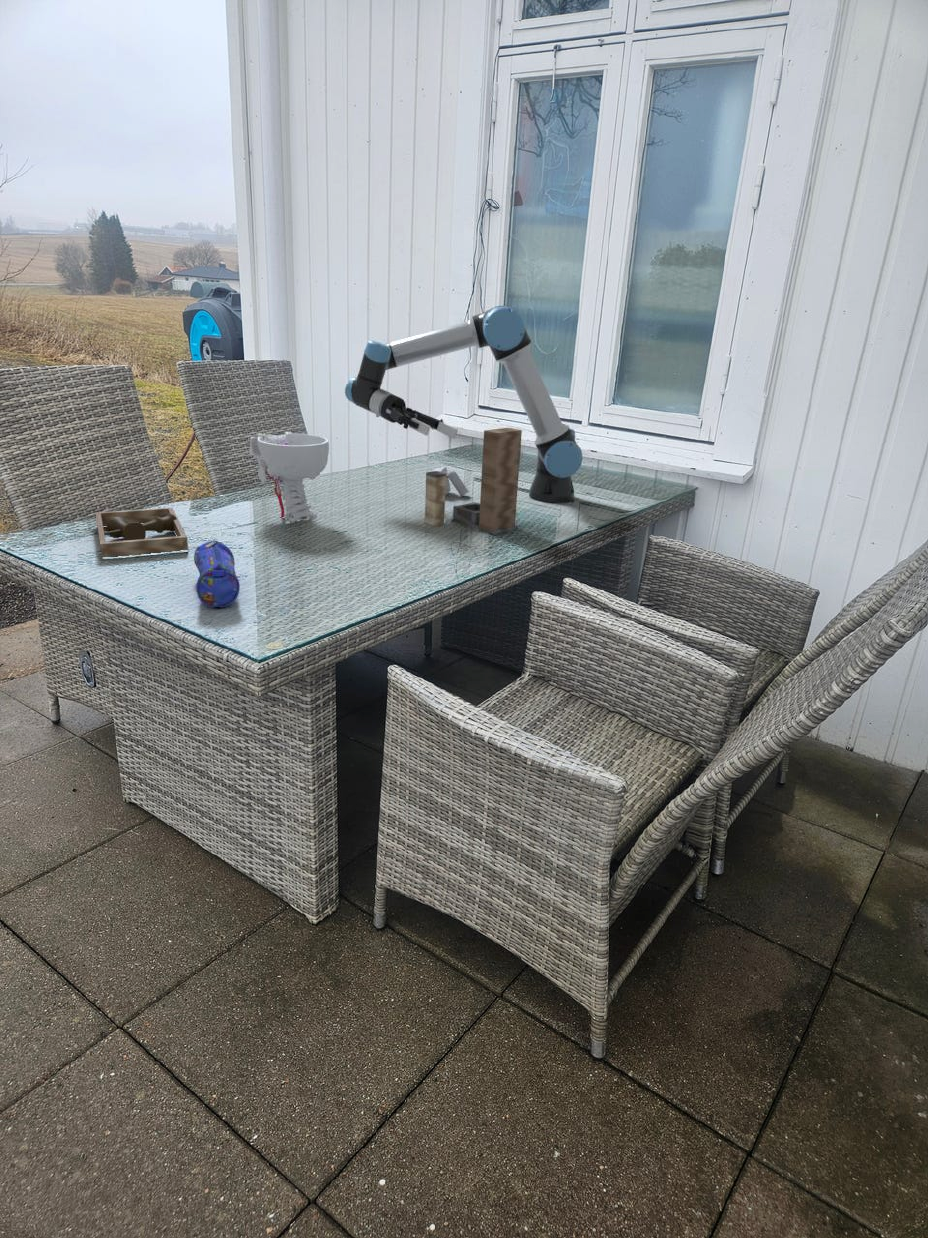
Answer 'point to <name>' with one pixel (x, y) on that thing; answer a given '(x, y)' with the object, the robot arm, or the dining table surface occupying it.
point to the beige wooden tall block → (435, 498)
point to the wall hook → (453, 481)
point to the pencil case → (216, 575)
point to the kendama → (138, 527)
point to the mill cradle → (143, 544)
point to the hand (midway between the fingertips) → (442, 432)
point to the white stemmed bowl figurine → (290, 467)
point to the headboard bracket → (495, 484)
